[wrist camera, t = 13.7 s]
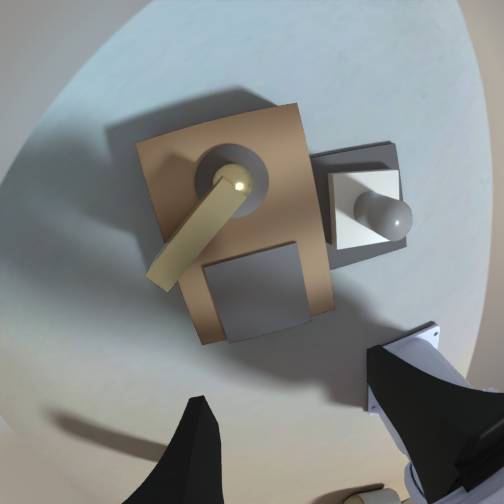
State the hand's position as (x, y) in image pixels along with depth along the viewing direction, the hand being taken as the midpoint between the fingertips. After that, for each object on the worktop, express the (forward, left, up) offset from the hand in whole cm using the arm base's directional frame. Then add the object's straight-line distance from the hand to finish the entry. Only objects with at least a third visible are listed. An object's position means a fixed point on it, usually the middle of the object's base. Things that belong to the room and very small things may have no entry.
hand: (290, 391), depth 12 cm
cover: (+4, -9, -10) cm, 14 cm away
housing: (+5, 0, -10) cm, 12 cm away
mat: (+4, -9, -10) cm, 14 cm away
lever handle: (+7, +2, -7) cm, 10 cm away
